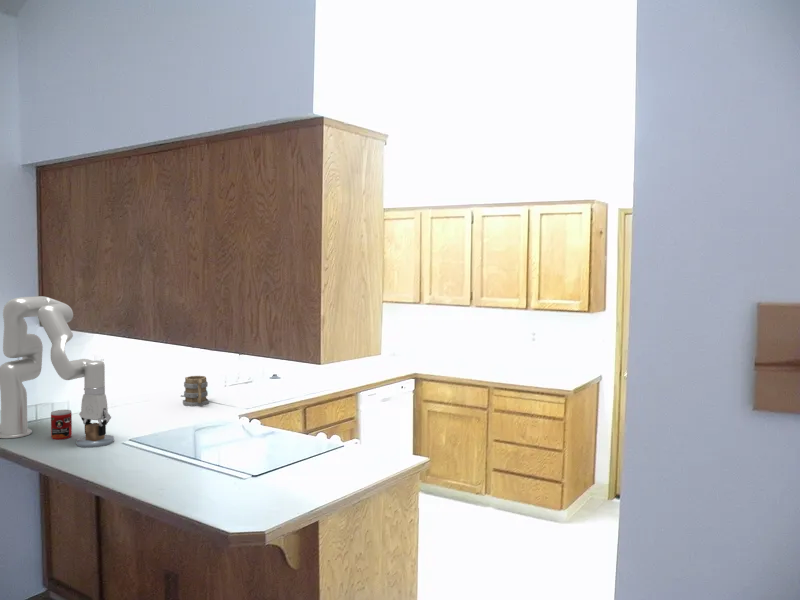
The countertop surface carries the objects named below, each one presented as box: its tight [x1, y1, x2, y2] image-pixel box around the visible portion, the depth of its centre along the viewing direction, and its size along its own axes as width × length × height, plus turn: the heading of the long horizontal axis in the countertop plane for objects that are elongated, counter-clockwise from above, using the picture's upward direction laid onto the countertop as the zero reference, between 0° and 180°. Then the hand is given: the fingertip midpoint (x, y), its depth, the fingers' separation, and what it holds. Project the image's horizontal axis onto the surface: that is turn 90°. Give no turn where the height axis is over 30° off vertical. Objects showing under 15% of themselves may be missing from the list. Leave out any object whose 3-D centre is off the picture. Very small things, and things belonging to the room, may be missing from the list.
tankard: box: [182, 375, 210, 407], centre depth 335 cm, size 20×13×15 cm, turn 25°
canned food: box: [50, 409, 73, 441], centre depth 271 cm, size 8×8×11 cm
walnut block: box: [84, 422, 106, 441], centre depth 264 cm, size 5×5×6 cm
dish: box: [75, 434, 115, 449], centre depth 264 cm, size 14×14×2 cm
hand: (95, 433), depth 264 cm, fingers open, 6 cm apart
